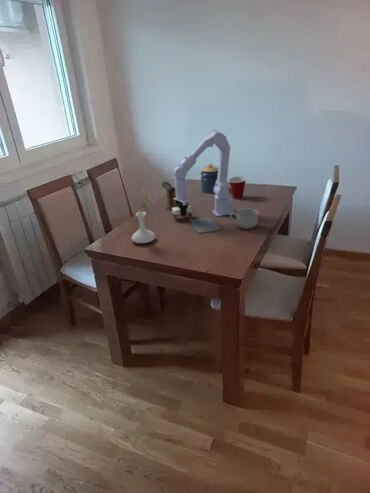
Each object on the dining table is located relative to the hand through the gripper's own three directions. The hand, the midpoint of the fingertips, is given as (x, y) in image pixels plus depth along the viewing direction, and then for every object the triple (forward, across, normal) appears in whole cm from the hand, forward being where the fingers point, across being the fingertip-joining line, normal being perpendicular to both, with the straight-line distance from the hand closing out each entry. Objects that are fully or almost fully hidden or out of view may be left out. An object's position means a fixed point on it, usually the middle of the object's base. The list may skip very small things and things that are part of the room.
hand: (182, 213), depth 197 cm
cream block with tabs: (+3, 0, 0) cm, 3 cm away
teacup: (+3, +23, +26) cm, 35 cm away
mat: (+3, +14, +8) cm, 16 cm away
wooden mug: (+3, -18, -2) cm, 18 cm away
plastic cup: (+3, -20, +40) cm, 45 cm away
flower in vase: (+3, +20, -24) cm, 31 cm away
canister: (+3, -41, +30) cm, 51 cm away
